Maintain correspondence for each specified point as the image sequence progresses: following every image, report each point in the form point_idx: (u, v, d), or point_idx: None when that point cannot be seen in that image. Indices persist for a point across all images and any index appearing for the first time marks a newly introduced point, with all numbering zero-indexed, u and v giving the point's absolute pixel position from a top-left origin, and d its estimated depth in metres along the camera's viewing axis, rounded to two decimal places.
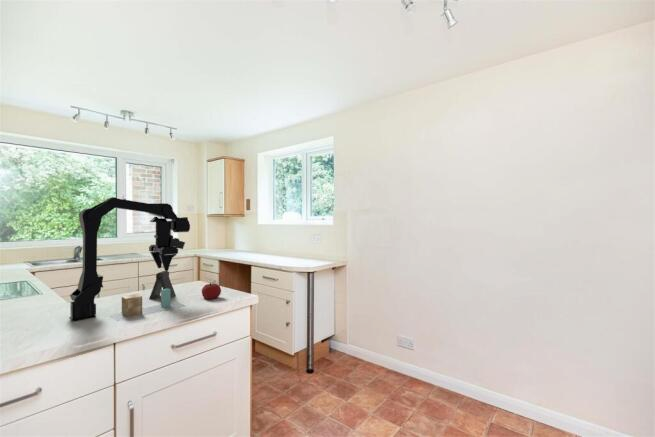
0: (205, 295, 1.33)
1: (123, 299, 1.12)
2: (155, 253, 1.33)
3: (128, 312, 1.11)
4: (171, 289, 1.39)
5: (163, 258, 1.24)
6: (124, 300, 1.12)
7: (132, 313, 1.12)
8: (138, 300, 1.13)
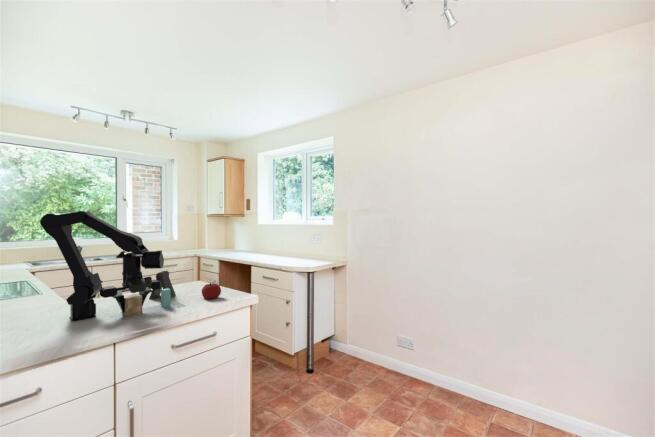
0: (205, 295, 1.33)
1: None
2: (140, 291, 1.17)
3: (128, 312, 1.11)
4: (171, 289, 1.39)
5: (116, 298, 1.12)
6: (124, 300, 1.12)
7: (132, 313, 1.12)
8: (138, 300, 1.13)
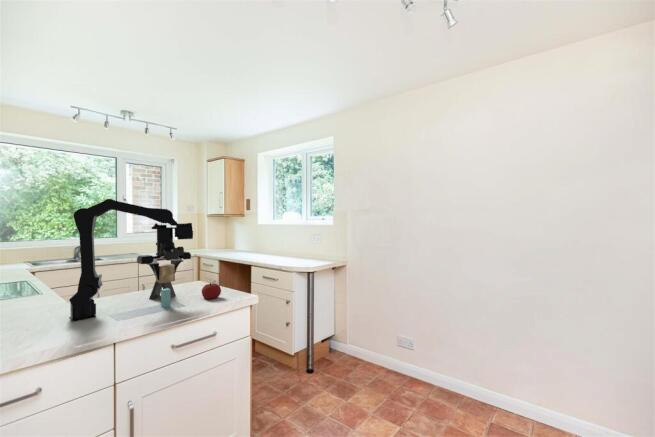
0: (205, 295, 1.33)
1: None
2: (172, 261, 1.26)
3: (163, 279, 1.20)
4: (171, 289, 1.39)
5: (151, 266, 1.21)
6: (159, 268, 1.20)
7: (166, 280, 1.21)
8: (171, 268, 1.22)
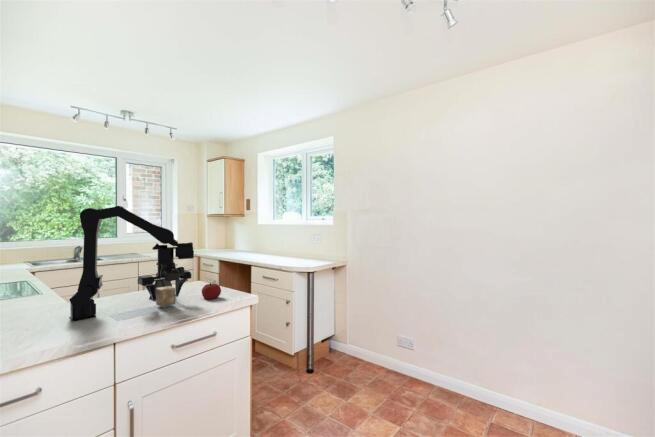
0: (205, 295, 1.33)
1: (158, 290, 1.21)
2: (176, 280, 1.28)
3: (163, 303, 1.20)
4: None
5: (147, 287, 1.19)
6: (159, 291, 1.21)
7: (166, 303, 1.21)
8: (171, 291, 1.22)
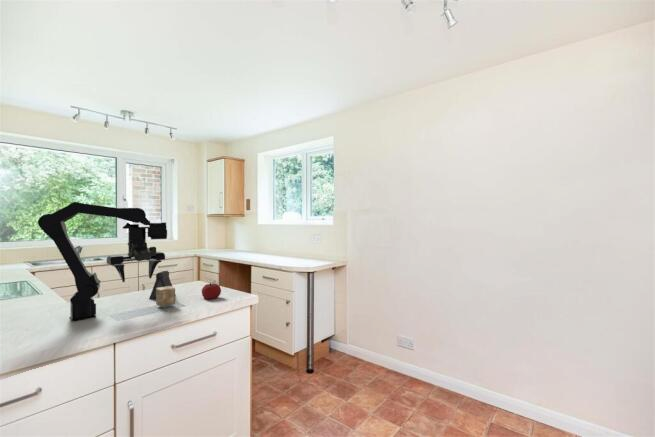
0: (205, 295, 1.33)
1: (158, 290, 1.21)
2: (149, 261, 1.24)
3: (163, 303, 1.20)
4: None
5: (116, 267, 1.15)
6: (159, 291, 1.21)
7: (166, 303, 1.21)
8: (171, 291, 1.22)
